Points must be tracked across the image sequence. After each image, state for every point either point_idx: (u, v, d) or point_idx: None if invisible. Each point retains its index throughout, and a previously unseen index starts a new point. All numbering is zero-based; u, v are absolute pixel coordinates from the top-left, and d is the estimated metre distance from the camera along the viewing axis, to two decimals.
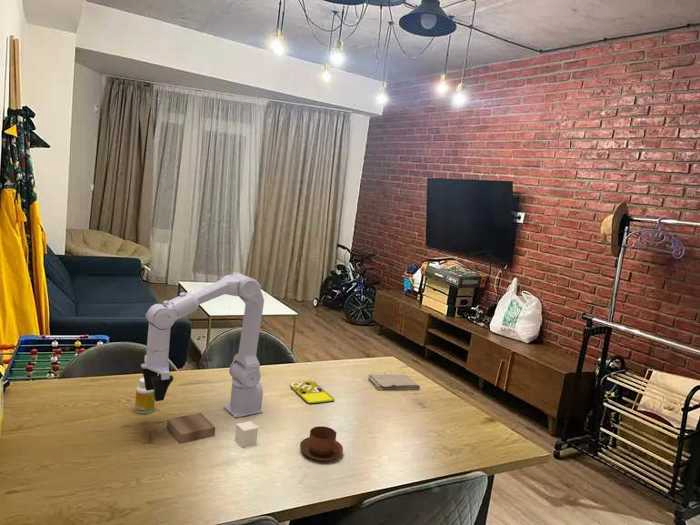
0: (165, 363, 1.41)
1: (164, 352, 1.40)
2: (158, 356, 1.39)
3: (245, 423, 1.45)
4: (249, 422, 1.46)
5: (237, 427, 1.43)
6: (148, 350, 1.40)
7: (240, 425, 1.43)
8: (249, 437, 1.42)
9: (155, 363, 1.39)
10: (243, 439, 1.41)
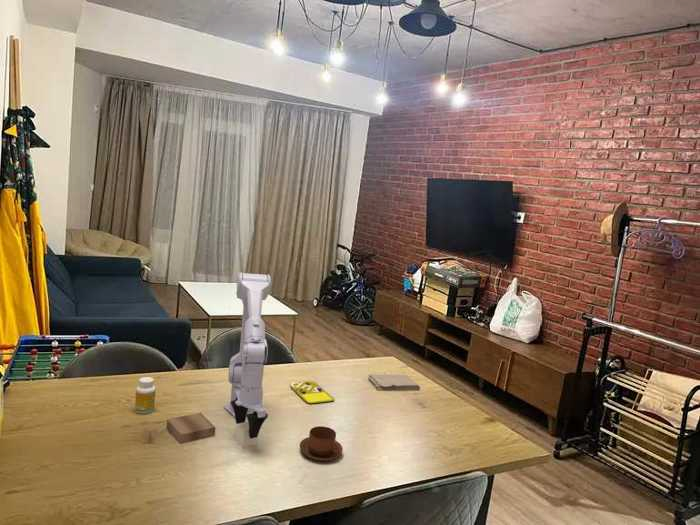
0: (259, 400, 1.42)
1: (258, 389, 1.40)
2: (253, 394, 1.40)
3: (245, 423, 1.45)
4: None
5: (237, 427, 1.43)
6: (243, 387, 1.40)
7: (240, 425, 1.43)
8: (249, 437, 1.42)
9: (250, 400, 1.40)
10: (243, 439, 1.41)
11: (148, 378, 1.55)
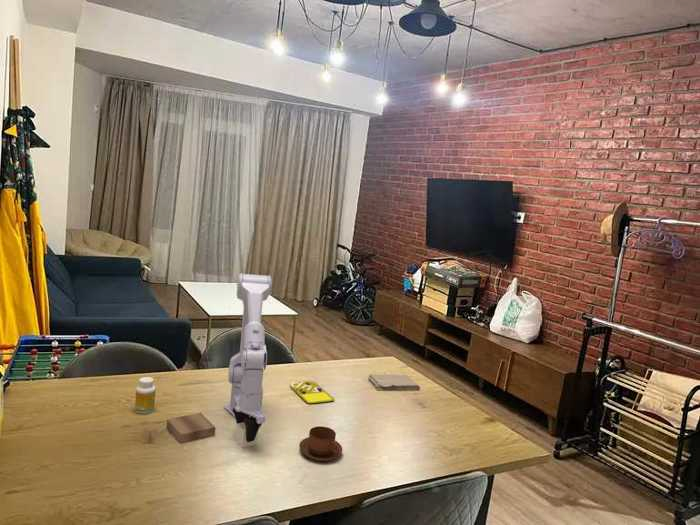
0: (258, 406, 1.42)
1: (258, 395, 1.41)
2: (252, 400, 1.40)
3: None
4: None
5: (237, 427, 1.43)
6: (242, 393, 1.40)
7: (240, 425, 1.43)
8: None
9: (250, 406, 1.40)
10: (243, 439, 1.41)
11: (148, 378, 1.55)
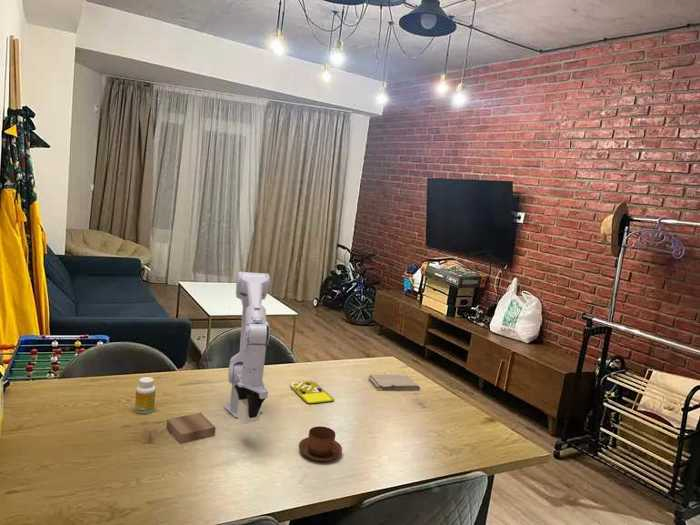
0: (261, 381, 1.41)
1: (260, 371, 1.40)
2: (255, 375, 1.39)
3: None
4: None
5: (239, 403, 1.42)
6: (245, 369, 1.39)
7: (242, 401, 1.42)
8: None
9: (252, 382, 1.39)
10: (246, 415, 1.40)
11: (148, 378, 1.55)
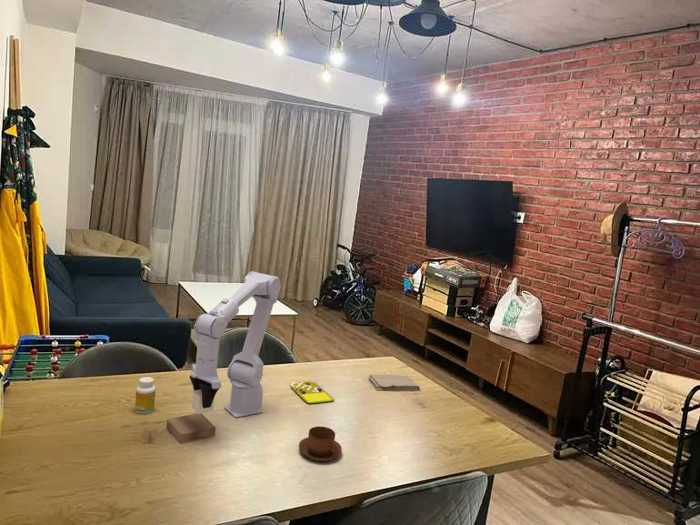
0: (214, 372, 1.42)
1: (214, 361, 1.41)
2: (208, 366, 1.40)
3: None
4: None
5: (194, 394, 1.44)
6: (198, 359, 1.41)
7: (197, 392, 1.44)
8: None
9: (205, 372, 1.41)
10: (199, 405, 1.42)
11: (148, 378, 1.55)
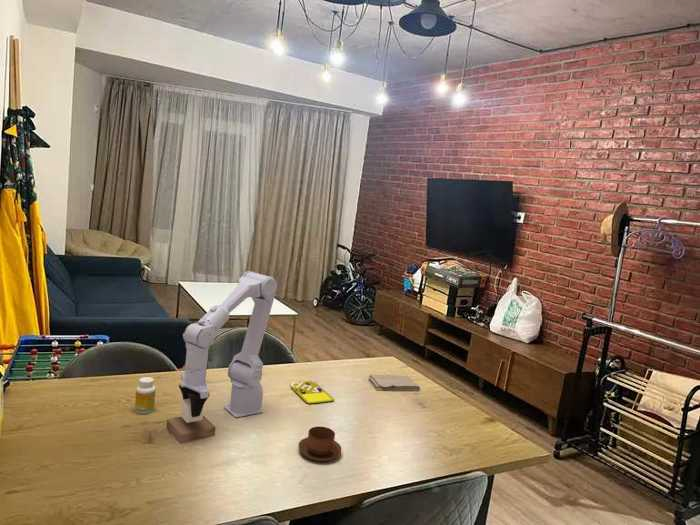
0: (203, 381, 1.43)
1: (202, 371, 1.42)
2: (197, 375, 1.41)
3: None
4: None
5: (183, 402, 1.45)
6: (187, 369, 1.41)
7: (186, 400, 1.45)
8: None
9: (194, 382, 1.41)
10: (188, 414, 1.43)
11: (148, 378, 1.55)
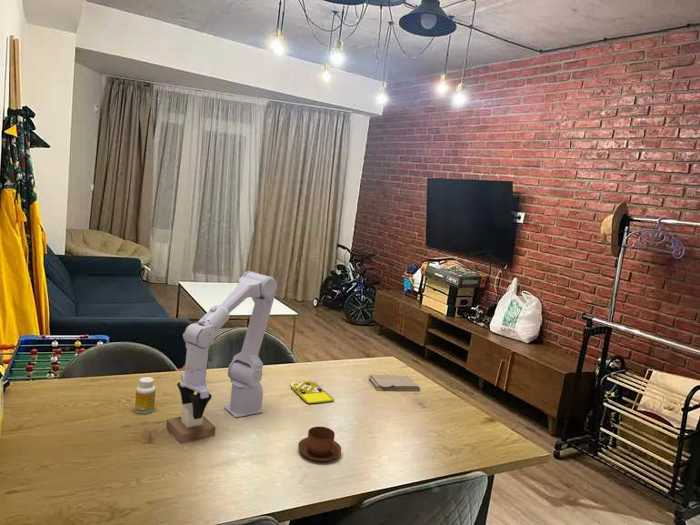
0: (203, 381, 1.43)
1: (202, 371, 1.42)
2: (197, 375, 1.41)
3: (191, 403, 1.47)
4: None
5: (183, 407, 1.45)
6: (187, 369, 1.41)
7: (186, 405, 1.45)
8: None
9: (194, 382, 1.41)
10: (188, 419, 1.43)
11: (148, 378, 1.55)
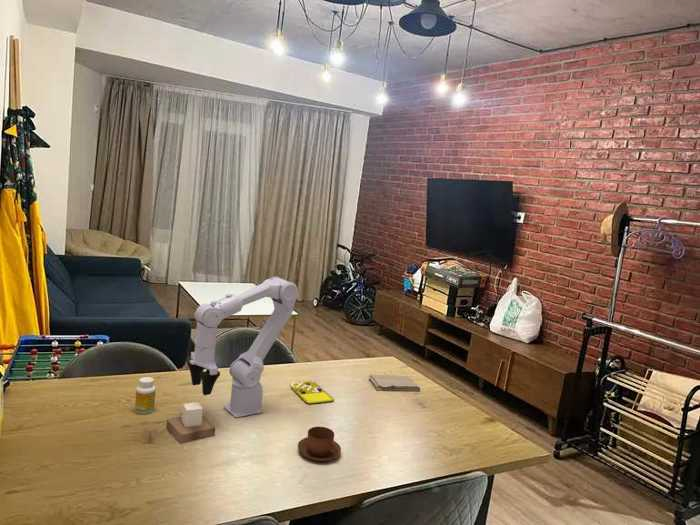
0: (212, 359, 1.50)
1: (211, 349, 1.49)
2: (206, 353, 1.48)
3: (192, 404, 1.47)
4: (196, 403, 1.48)
5: (183, 407, 1.46)
6: (197, 347, 1.49)
7: (186, 405, 1.46)
8: (193, 417, 1.44)
9: (204, 359, 1.49)
10: (186, 419, 1.43)
11: (148, 378, 1.55)
